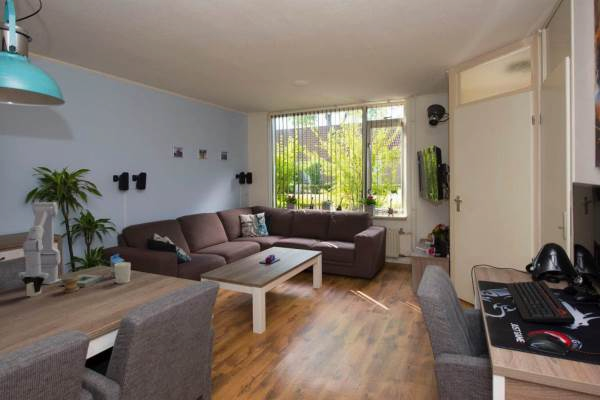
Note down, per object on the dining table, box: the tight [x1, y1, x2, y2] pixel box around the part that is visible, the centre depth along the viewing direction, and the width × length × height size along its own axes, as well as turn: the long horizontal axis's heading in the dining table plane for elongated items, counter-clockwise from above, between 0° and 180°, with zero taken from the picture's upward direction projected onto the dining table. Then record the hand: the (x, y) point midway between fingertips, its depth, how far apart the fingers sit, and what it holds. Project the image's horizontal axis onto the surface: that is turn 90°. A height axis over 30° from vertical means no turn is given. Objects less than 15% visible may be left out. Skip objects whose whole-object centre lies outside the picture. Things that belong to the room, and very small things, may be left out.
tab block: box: [26, 282, 42, 298], centre depth 168 cm, size 3×5×6 cm, turn 172°
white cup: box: [115, 261, 131, 284], centre depth 190 cm, size 8×8×10 cm
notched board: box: [60, 273, 105, 288], centre depth 188 cm, size 14×14×2 cm
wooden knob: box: [61, 276, 80, 294], centre depth 175 cm, size 7×7×6 cm
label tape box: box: [110, 253, 126, 279], centre depth 202 cm, size 9×4×12 cm, turn 179°
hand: (34, 291), depth 168 cm, fingers closed on tab block, 3 cm apart
